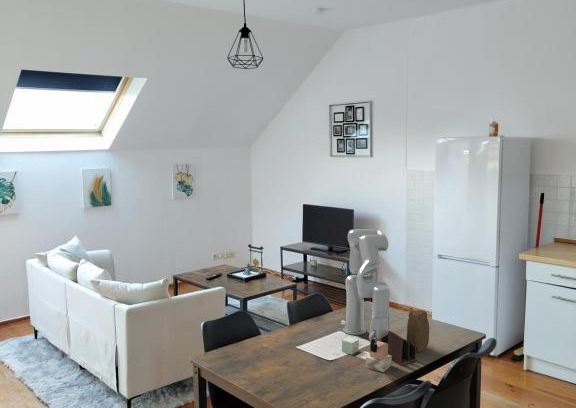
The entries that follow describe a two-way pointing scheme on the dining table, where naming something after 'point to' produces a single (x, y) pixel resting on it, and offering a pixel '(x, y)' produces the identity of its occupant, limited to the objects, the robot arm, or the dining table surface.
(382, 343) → the terracotta cube
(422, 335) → the block
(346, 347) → the sage cube
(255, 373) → the dining table surface
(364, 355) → the card
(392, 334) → the letter holder
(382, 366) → the birch block
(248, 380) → the dining table surface
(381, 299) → the robot arm
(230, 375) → the dining table surface
